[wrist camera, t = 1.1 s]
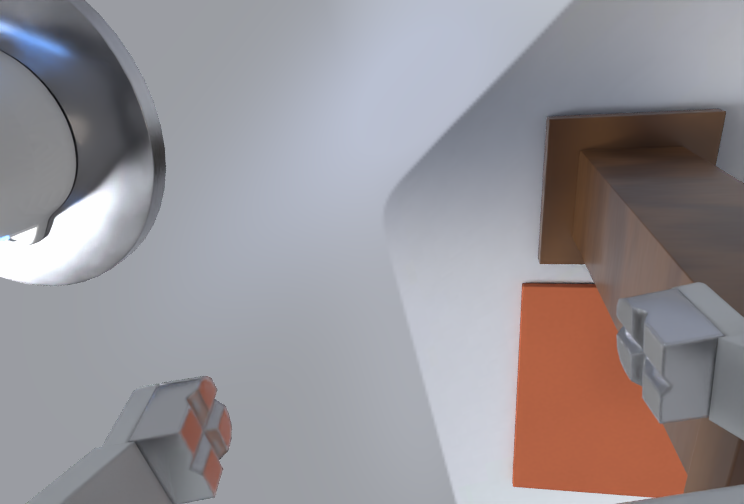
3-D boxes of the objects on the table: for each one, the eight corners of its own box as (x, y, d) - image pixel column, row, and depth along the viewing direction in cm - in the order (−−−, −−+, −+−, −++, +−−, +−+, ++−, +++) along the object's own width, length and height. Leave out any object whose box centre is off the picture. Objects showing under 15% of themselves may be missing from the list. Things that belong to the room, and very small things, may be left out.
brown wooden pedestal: (537, 258, 37) (668, 693, 13) (546, 116, 33) (757, 376, 9) (690, 258, 35) (1155, 761, 12) (719, 108, 31) (1529, 405, 7)
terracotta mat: (512, 481, 46) (512, 486, 46) (522, 282, 38) (523, 286, 37) (683, 494, 44) (686, 500, 43) (732, 284, 36) (736, 289, 35)
